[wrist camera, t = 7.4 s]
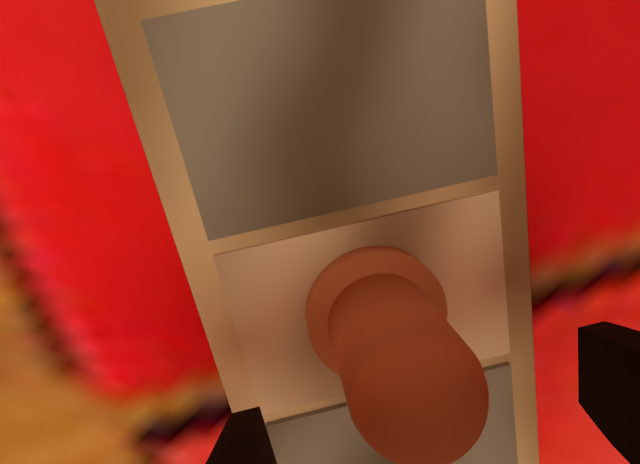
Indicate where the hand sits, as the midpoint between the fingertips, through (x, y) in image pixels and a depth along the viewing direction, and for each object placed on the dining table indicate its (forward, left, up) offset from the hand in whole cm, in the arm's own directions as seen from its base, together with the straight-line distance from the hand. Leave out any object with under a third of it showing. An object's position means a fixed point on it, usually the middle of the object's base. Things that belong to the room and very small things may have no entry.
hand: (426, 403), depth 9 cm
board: (0, -3, -6) cm, 7 cm away
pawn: (0, 0, -5) cm, 5 cm away
